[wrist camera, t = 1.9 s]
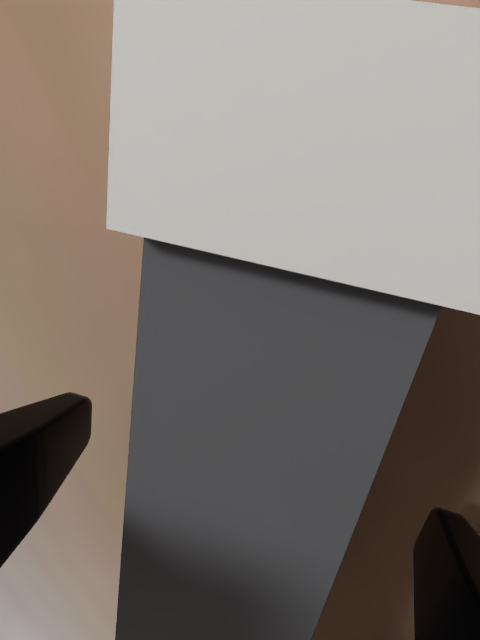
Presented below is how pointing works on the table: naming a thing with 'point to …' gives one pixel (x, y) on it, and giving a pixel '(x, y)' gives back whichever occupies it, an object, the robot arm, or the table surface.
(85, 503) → the table surface
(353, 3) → the rod
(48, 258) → the table surface
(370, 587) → the table surface
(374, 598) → the table surface
